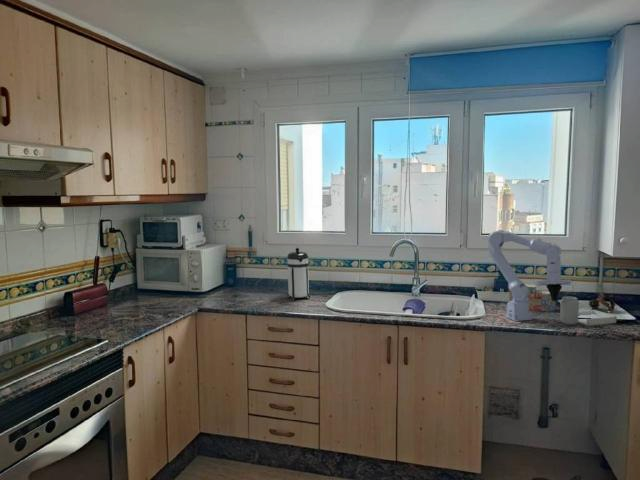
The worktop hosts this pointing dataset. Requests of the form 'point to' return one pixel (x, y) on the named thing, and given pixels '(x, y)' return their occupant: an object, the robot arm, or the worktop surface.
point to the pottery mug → (595, 303)
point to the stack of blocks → (538, 300)
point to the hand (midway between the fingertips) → (554, 300)
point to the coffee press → (298, 274)
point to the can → (569, 310)
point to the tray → (596, 321)
